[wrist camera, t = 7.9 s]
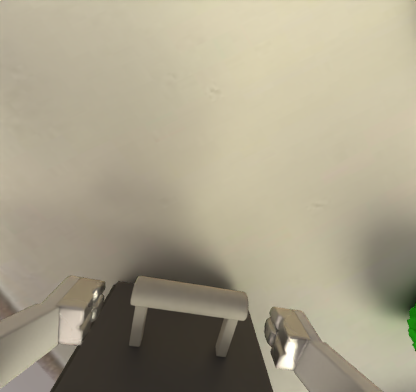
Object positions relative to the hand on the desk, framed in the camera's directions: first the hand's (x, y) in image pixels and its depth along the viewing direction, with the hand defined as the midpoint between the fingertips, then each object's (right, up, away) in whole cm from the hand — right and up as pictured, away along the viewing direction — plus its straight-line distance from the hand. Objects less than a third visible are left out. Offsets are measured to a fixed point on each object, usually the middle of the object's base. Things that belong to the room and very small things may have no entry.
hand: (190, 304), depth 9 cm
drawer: (-2, -6, +7) cm, 10 cm away
